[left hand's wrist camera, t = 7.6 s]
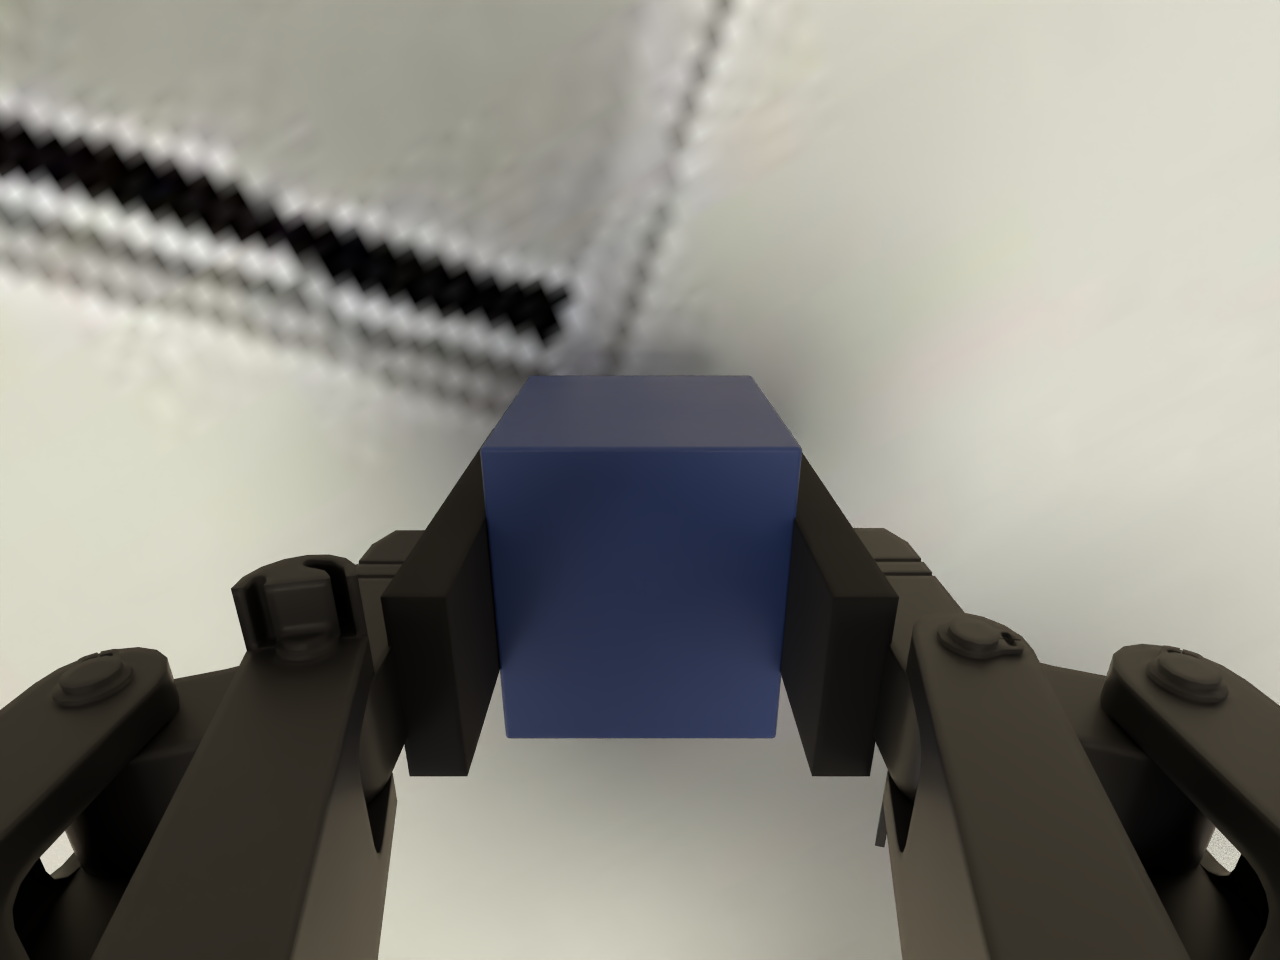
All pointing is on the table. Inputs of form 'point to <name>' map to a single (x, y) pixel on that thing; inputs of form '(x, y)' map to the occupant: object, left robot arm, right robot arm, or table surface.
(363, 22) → the table surface
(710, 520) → the block
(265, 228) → the table surface
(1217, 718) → the left robot arm
